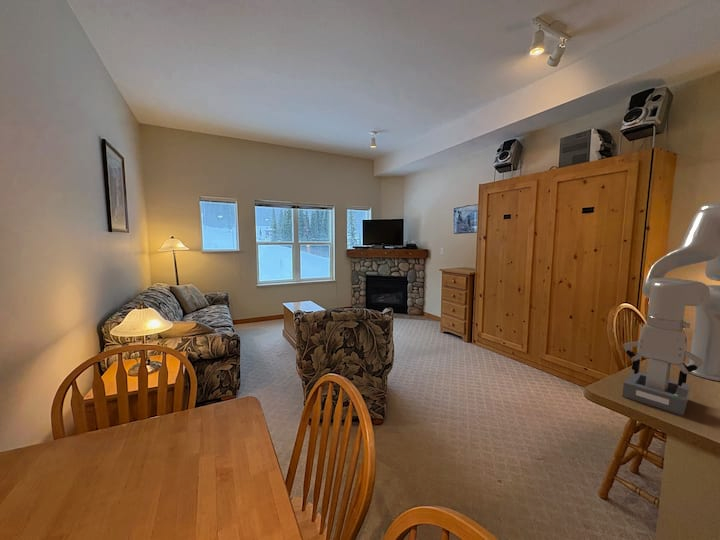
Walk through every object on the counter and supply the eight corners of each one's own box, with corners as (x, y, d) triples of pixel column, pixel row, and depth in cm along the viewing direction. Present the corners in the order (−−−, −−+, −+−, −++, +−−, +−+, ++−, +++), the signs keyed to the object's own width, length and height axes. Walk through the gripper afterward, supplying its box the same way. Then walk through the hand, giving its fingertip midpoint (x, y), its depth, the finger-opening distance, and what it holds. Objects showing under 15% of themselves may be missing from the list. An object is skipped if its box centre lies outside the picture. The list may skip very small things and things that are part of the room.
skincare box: (662, 402, 90) (667, 363, 89) (643, 396, 94) (648, 358, 92) (667, 396, 94) (672, 358, 92) (648, 390, 97) (653, 354, 96)
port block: (631, 383, 103) (633, 369, 102) (688, 399, 93) (690, 384, 92) (622, 396, 95) (623, 381, 94) (683, 416, 85) (685, 399, 84)
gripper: (709, 327, 87) (700, 385, 89) (628, 315, 100) (623, 365, 102) (707, 333, 82) (698, 394, 84) (623, 319, 95) (617, 371, 97)
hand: (657, 378), depth 93 cm, fingers open, 9 cm apart
